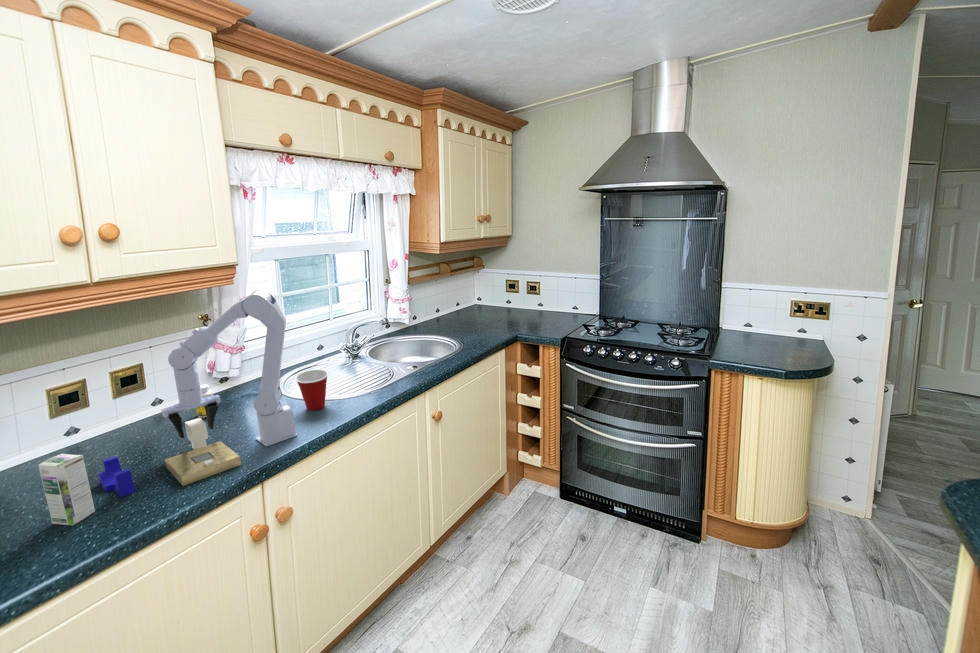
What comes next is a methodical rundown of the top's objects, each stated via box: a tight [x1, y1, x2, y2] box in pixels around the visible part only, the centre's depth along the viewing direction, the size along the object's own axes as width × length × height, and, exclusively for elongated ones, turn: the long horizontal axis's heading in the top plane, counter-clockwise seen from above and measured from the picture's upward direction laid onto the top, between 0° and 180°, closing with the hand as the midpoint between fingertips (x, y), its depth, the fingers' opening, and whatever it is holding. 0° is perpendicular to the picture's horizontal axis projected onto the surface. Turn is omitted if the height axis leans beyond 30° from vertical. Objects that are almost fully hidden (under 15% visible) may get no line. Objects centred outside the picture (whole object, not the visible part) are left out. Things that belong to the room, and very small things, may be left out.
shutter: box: [192, 453, 213, 463], centre depth 137 cm, size 4×4×1 cm
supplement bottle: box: [195, 384, 214, 419], centre depth 171 cm, size 6×6×10 cm
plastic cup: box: [294, 369, 329, 412], centre depth 174 cm, size 11×11×12 cm
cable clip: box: [97, 456, 136, 498], centre depth 127 cm, size 12×4×6 cm, turn 49°
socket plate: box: [164, 441, 242, 487], centre depth 137 cm, size 14×14×3 cm
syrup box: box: [37, 453, 96, 527], centre depth 114 cm, size 6×6×14 cm
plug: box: [184, 417, 209, 450], centre depth 147 cm, size 4×5×8 cm
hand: (196, 432), depth 147 cm, fingers open, 7 cm apart
